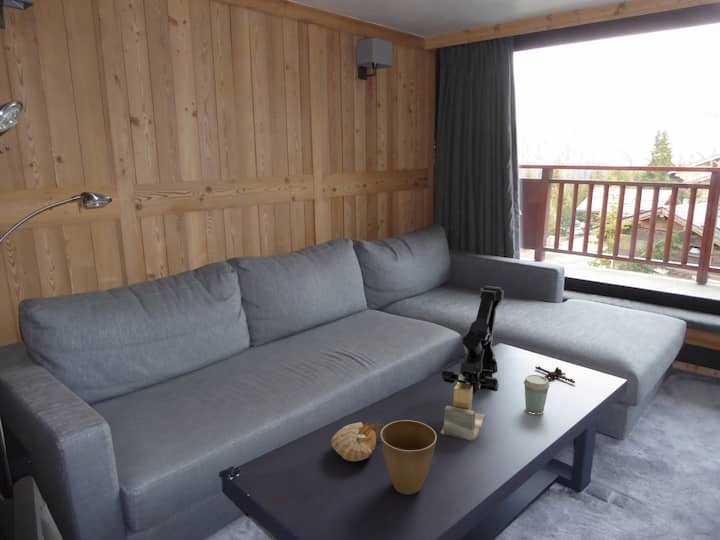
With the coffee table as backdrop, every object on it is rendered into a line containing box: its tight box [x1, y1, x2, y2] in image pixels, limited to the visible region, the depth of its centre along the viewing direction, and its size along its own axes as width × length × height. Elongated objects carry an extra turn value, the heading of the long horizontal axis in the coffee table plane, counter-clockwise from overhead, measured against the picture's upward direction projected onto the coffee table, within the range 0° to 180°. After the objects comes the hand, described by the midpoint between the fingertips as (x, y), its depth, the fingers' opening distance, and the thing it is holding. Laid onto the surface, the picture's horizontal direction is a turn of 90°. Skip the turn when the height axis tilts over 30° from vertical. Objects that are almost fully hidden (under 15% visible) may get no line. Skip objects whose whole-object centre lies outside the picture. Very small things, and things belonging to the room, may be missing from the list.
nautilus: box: [331, 420, 387, 462], centre depth 159 cm, size 8×22×15 cm
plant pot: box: [380, 419, 437, 495], centre depth 141 cm, size 15×15×16 cm
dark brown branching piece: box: [535, 365, 576, 384], centre depth 208 cm, size 18×4×14 cm
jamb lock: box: [440, 405, 486, 442], centre depth 173 cm, size 16×11×9 cm, turn 155°
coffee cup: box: [523, 374, 550, 414], centre depth 182 cm, size 8×8×12 cm
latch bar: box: [452, 382, 474, 411], centre depth 170 cm, size 6×5×14 cm
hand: (464, 404), depth 172 cm, fingers closed
